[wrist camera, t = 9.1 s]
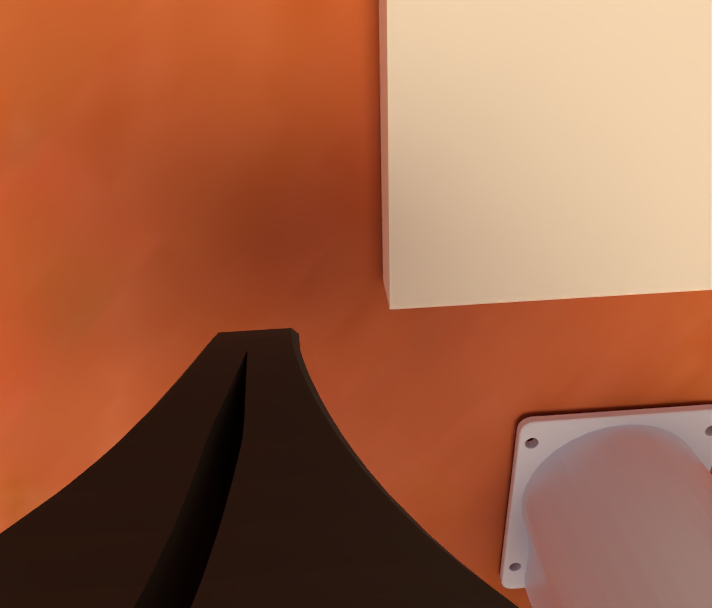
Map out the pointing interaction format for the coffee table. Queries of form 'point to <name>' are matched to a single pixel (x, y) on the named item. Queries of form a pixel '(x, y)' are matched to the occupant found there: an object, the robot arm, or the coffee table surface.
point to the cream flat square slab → (544, 149)
